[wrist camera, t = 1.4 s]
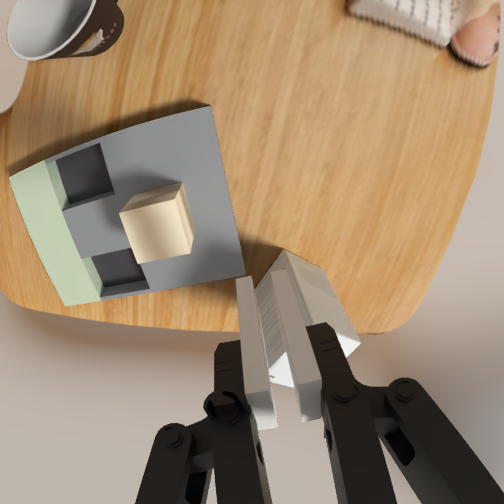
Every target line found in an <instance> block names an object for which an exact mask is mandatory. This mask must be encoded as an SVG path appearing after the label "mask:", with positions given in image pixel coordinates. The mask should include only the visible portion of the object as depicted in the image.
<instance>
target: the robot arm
mask: <svg viewBox="0 0 504 504" xmlns="http://www.w3.org/2000/svg"><path fill="white" fill-rule="evenodd" d="M271 278H272V284H273V290H274V296H275V302H276V308H277V315H278V319H279V323H280V327H281V332H282V336H283V340H284V345H285V349H286V353H287V358H288V362H289V366H290V371H291V375H292V380H293V384H294V388H295V392H296V397H297V402H298V405H299V410H300V414H301V419H302V422H306V421H311V420H315V419H320V418H321V417H323V421H324V438H326V442H327V446H328V452H329V457H330V461H331V467H332V472H333V478H334V483H335V489H336V494H337V499H338V504H397V501H396V497H395V493H394V490H393V486H392V482H391V479H390V475H389V471H388V468H387V465H386V461H385V457H384V454H383V450H382V447H381V444H380V440H379V438H380V439H381V441H382V442H383V444H384V445H385V447H386V449H387V450H388V452H389V453H390V455H391V456H392V458H393V459H394V461H395V463H396V464H397V466H398V467H399V469H400V470H401V472H402V474H403V475H404V476H405V478H406V480H407V481H408V483H409V484H410V486H411V488H412V489H413V491H414V492H415V494H416V496H417V497H418V499H419V500H420V502H421V503H422V504H504V493H503V491H502V490H501V488H500V487H499V486H498V484H497V483H496V482H495V480H494V479H493V478H492V476H491V475H490V473H489V472H488V470H487V469H486V468H485V466H484V465H483V464H482V463H481V461H480V460H479V459H478V457H477V456H476V454H474V452H473V450H472V449H471V448H470V447H469V445H468V444H467V443H466V441H465V440H464V439H463V437H462V436H461V435H460V433H459V432H458V431H457V430H456V429H455V427H454V426H453V425H452V423H451V422H450V421H449V419H448V418H447V417H446V416H445V414H444V413H443V412H442V411H441V409H440V408H439V407H438V406H437V404H436V403H435V402H434V401H433V400H432V398H431V397H430V396H429V395H428V393H427V392H426V391H425V390H424V388H423V387H422V386H421V385H420V384H419V383H418V382H417V381H416V380H413V379H411V378H399V379H396V380H394V381H393V382H392V383H391V384H390V385H389V387H370V386H366V385H363V384H361V383H360V382H358V381H357V380H356V379H355V377H354V376H353V374H352V372H351V369H350V366H349V364H348V361H347V359H346V356H345V354H344V352H343V349H342V348H341V344H340V342H339V340H338V337H337V335H336V332H335V330H334V329H333V328H332V327H331V326H330V325H329V324H328V323H327V322H323V323H319V324H314V325H310V326H305V324H304V321H303V318H302V315H301V312H300V309H299V306H298V303H297V300H296V297H295V294H294V291H293V288H292V285H291V282H290V279H289V276H288V273H287V270H286V269H283V270H278V271H273V272H271ZM236 290H237V303H238V316H239V329H240V340H236V341H230V342H224V343H219V345H218V347H217V349H216V351H215V353H214V364H215V365H214V392H212V393H211V394H209V395H208V397H207V398H206V400H205V401H204V406H203V408H204V410H205V411H206V413H207V415H208V416H207V417H206V418H205V419H203V420H201V421H199V422H197V423H194V424H191V425H189V426H186V427H185V426H184V425H182V424H179V423H171V424H168V425H165V426H163V427H162V428H161V429H160V430H159V431H158V433H157V435H156V436H155V440H154V443H153V446H152V449H151V452H150V456H149V459H148V462H147V465H146V469H145V472H144V475H143V478H142V482H141V485H140V488H139V492H138V495H137V499H136V502H135V504H206V500H207V495H208V489H209V484H210V479H211V474H212V469H213V468H214V474H215V485H216V494H217V504H272V499H271V495H270V489H269V484H268V479H267V474H266V469H265V463H264V458H263V453H262V447H261V442H260V440H259V436H258V430H264V429H269V428H276V427H278V423H277V417H276V411H275V405H274V399H273V393H272V387H271V380H270V374H269V368H268V362H267V356H266V350H265V344H264V338H263V332H262V326H261V319H260V314H259V310H258V305H257V300H256V295H255V291H254V286H253V281H252V276H247V277H242V278H237V279H236ZM378 436H379V437H378Z"/></svg>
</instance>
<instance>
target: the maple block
mask: <svg viewBox="0 0 504 504" xmlns="http://www.w3.org/2000/svg"><path fill="white" fill-rule="evenodd" d="M119 215H120V218H121V220H122V223H123V226H124V229H125V232H126V234H127V237H128V240H129V242H130V245H131V248H132V250H133V253H134V256H135V258H136V261H137V263H138V264H140V263H145V262H150V261H155V260H160V259H165V258H170V257H175V256H180V255H185V254H190V253H191V248H192V243H193V238H194V232H195V227H194V223H193V220H192V216H191V212H190V208H189V205H188V201H187V197H186V193H185V189H184V186H183V182H181V183H177V184H173V185H169V186H165V187H161V188H157V189H153V190H149V191H145V192H141V193H137V194H134V195H133V197H132V198H131V199H130V200H129V201H128V203H127V204H126V205H125V206H124V208H123V209H122V210H121V211H120V213H119Z"/></svg>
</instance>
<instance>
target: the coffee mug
mask: <svg viewBox="0 0 504 504" xmlns="http://www.w3.org/2000/svg"><path fill="white" fill-rule="evenodd" d="M117 1H118V0H17V1H16V3H15V5H14V7H13V9H12V11H11V14H10V16H9V20H8V25H7V40H8V44H9V47H10V49H11V51H12V52H13V53H14V54H15V55H16V56H17V57H19V58H21V59H24V60H27V61H36V60H44V59H54V58H66V57H85V56H95V55H98V54H101V53H103V52H105V51H106V50H108V49H109V48H110V47H111V46H112V45H113V44H114V43H115V42H116V41H117V40H118V38H119V36H120V35H121V33H122V30H123V26H124V16H123V13H122V11H121V9H120V8H119V7H118V5H117Z"/></svg>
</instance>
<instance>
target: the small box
mask: <svg viewBox="0 0 504 504" xmlns="http://www.w3.org/2000/svg"><path fill="white" fill-rule="evenodd" d="M283 269H286V270H287V273H288V276H289V279H290V282H291V285H292V288H293V291H294V294H295V297H296V300H297V303H298V306H299V309H300V312H301V315H302V318H303V321H304V324H305V326H310V325H314V324H319V323H323V322H327V323H328V324H329V325H330V326H331V327H332V328H333V329H334V330H335V332H336V335H337V337H338V340H339V342H340V344H341V348H342V349H343V352H344V354H345V356H346V357H347V356H348V355H350V354H351V353H352V351H354V349H356V347H358V346H359V345H360V344H361V342H360V339H359V337H358V335H357V333H356V331H355V329H354V327H353V325H352V323H351V321H350V319H349V317H348V316H347V314H346V312H345V310H344V308H343V306H342V304H341V302H340V300H339V298H338V296H337V294H336V292H335V290H334V288H333V287H332V285H331V283H330V281H329V279H328V277H327V275H326V273H325V272H324V270H323V269H321V268H319V267H317V266H315V265H313V264H312V263H310V262H308V261H306V260H304V259H302V258H300V257H298V256H296V255H294V254H292V253H290V252H289V251H287V250H285V249H283V250H282V252H281V253H280V255H279V256H278V257H277V259H276V260H275V262H274V263H273V264H272V266H271V267H270V269H269V270H268V271H267V273H266V274H265V275H264V277H263V278H262V280H261V281H260V282H259V284H258V285H257V287H256V288H255V289H254V291H255V295H256V300H257V305H258V310H259V314H260V319H261V326H262V332H263V338H264V344H265V350H266V356H267V362H268V368H269V374H270V380H271V382H273V383H277V384H281V385H285V386H289V387H293V388H294V384H293V380H292V375H291V371H290V366H289V362H288V358H287V353H286V349H285V345H284V340H283V336H282V332H281V327H280V323H279V319H278V315H277V308H276V302H275V296H274V290H273V284H272V278H271V272H273V271H278V270H283Z"/></svg>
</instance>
